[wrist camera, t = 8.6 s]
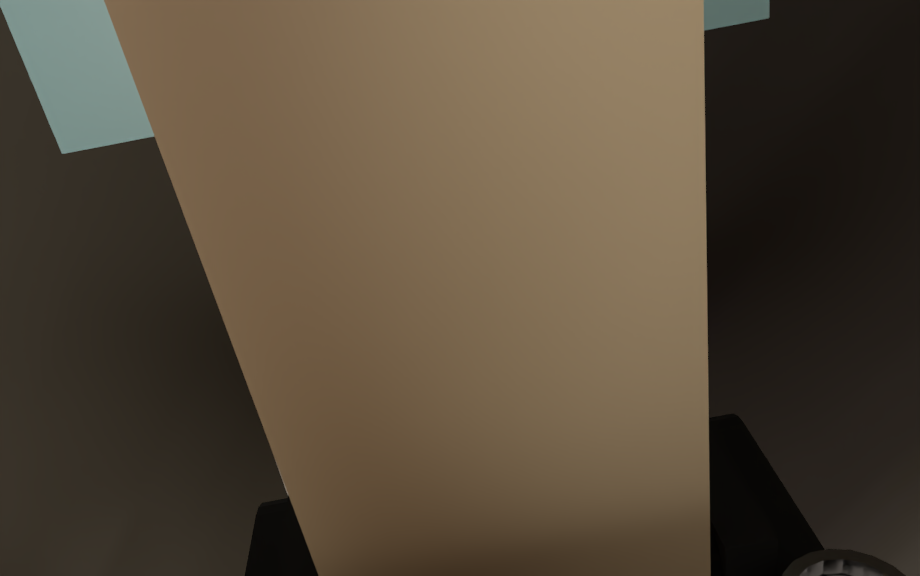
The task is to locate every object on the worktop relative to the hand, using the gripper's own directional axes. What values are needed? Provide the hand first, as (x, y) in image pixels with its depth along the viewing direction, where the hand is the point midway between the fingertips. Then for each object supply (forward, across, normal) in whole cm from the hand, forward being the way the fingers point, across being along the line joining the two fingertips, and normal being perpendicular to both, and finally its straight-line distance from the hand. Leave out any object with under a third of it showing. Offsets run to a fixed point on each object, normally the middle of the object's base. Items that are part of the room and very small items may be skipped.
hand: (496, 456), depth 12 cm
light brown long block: (+1, 0, 0) cm, 1 cm away
